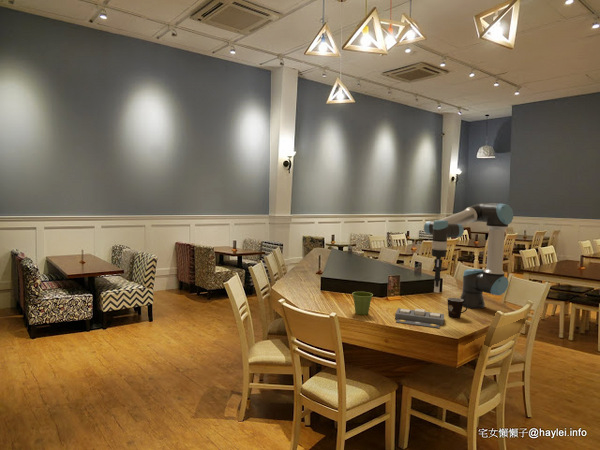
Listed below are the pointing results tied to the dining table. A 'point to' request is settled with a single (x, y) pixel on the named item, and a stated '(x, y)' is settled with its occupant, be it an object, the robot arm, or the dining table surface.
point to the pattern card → (418, 323)
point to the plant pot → (362, 302)
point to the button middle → (419, 312)
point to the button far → (405, 311)
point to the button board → (419, 317)
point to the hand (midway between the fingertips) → (436, 292)
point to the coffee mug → (455, 307)
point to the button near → (435, 315)
